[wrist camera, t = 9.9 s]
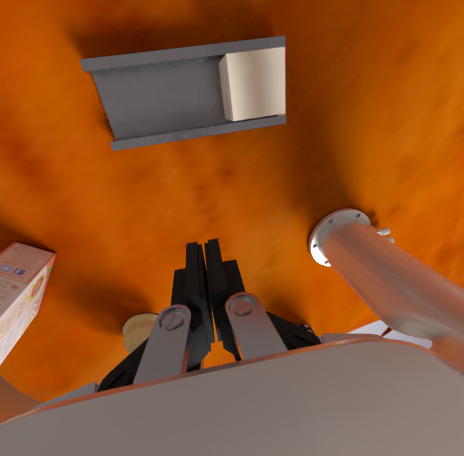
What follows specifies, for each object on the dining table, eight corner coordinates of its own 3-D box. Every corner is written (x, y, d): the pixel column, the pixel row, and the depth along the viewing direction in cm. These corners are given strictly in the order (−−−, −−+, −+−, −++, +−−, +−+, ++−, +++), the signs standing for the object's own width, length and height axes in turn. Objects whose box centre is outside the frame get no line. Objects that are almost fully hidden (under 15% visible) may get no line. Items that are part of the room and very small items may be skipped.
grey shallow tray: (275, 42, 28) (285, 35, 25) (276, 121, 32) (285, 123, 30) (90, 64, 26) (79, 59, 23) (119, 146, 30) (113, 150, 27)
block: (265, 57, 28) (284, 46, 23) (268, 112, 31) (285, 113, 26) (218, 63, 27) (226, 53, 22) (224, 118, 30) (233, 121, 25)
